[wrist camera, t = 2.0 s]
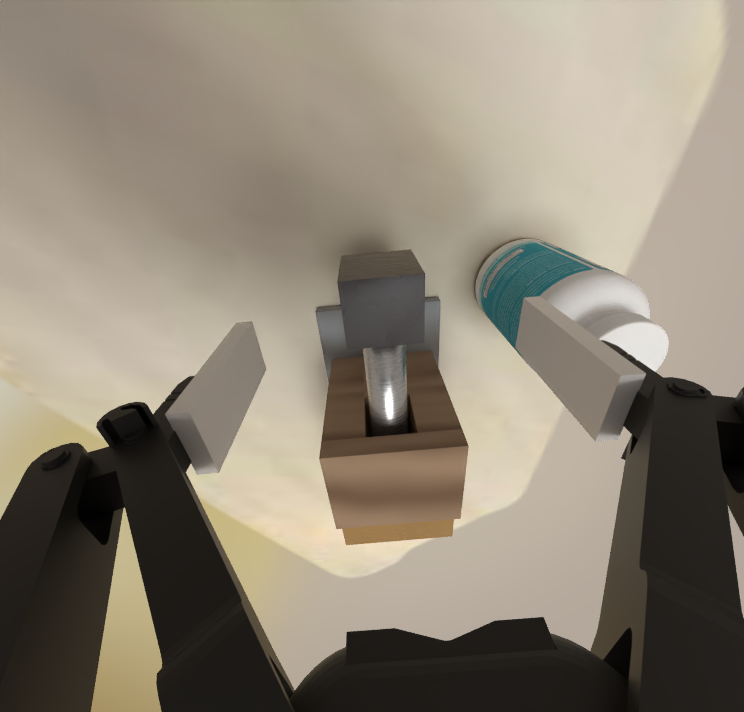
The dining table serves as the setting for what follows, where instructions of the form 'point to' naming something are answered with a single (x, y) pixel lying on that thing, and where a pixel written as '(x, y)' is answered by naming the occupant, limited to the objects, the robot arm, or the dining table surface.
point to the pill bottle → (569, 297)
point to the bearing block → (390, 436)
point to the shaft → (383, 327)
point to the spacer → (398, 532)
